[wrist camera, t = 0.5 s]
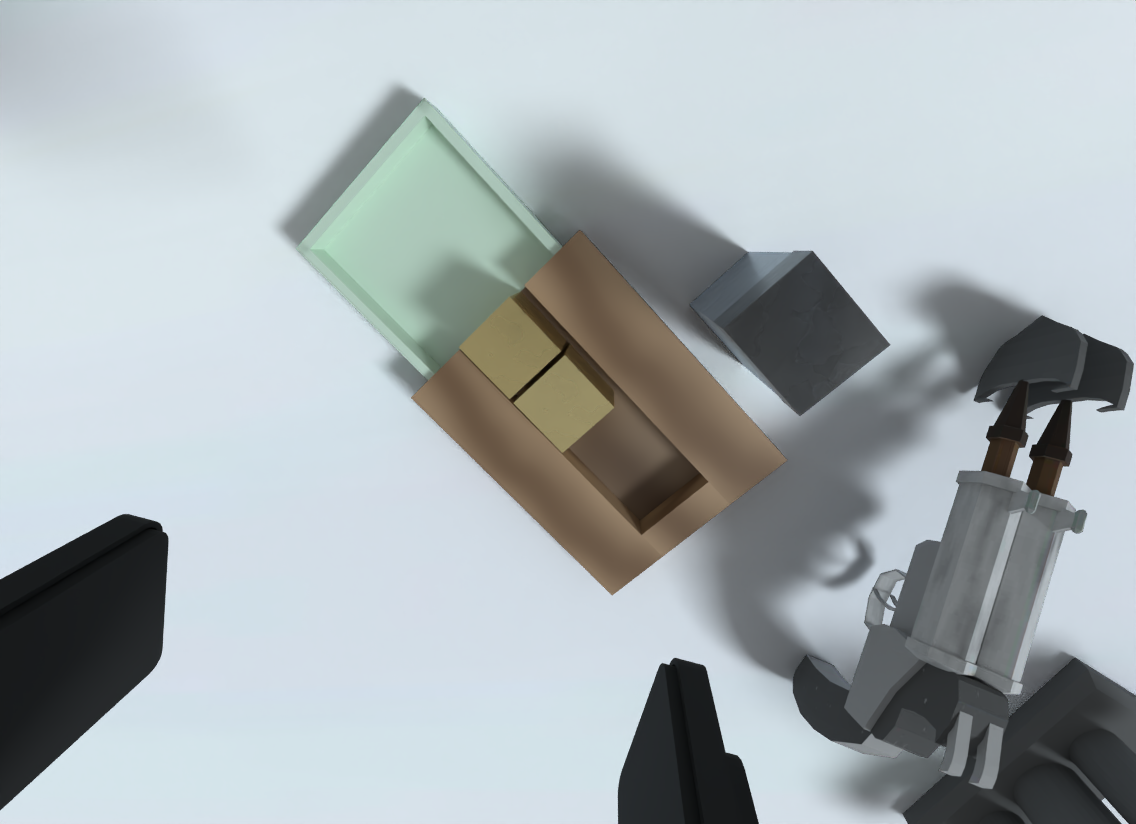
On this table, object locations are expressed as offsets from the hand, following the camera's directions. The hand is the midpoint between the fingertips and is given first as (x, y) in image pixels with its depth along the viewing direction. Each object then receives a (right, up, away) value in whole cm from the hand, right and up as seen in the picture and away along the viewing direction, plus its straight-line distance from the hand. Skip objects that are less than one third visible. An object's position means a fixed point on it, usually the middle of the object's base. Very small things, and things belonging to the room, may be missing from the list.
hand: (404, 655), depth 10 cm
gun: (+25, -3, +27) cm, 37 cm away
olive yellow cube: (+3, +6, +25) cm, 26 cm away
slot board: (+5, +4, +26) cm, 27 cm away
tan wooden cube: (0, +9, +25) cm, 26 cm away
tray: (-5, +14, +24) cm, 28 cm away
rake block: (+14, +11, +24) cm, 29 cm away
